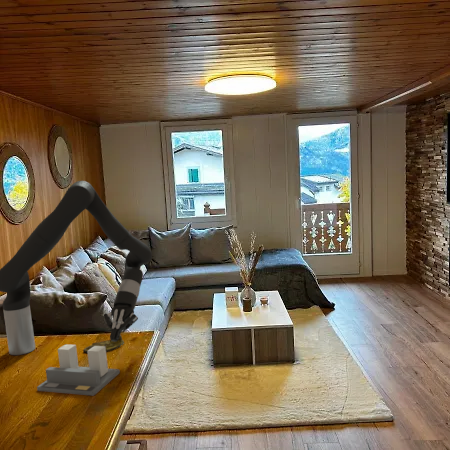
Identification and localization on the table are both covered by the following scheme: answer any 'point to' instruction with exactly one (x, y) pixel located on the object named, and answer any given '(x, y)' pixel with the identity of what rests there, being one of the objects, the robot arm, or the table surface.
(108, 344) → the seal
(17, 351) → the robot arm
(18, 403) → the table surface
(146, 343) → the table surface
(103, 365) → the tall white pillar block
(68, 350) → the white rectangular block
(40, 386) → the plate
